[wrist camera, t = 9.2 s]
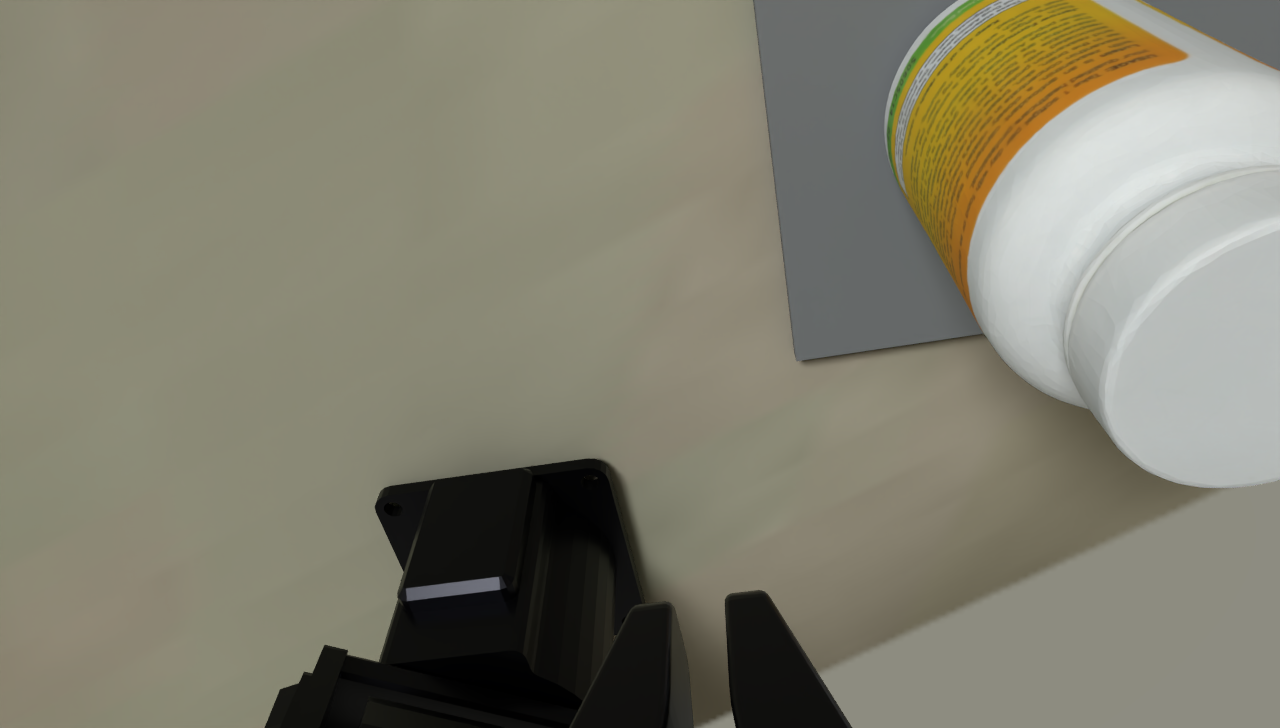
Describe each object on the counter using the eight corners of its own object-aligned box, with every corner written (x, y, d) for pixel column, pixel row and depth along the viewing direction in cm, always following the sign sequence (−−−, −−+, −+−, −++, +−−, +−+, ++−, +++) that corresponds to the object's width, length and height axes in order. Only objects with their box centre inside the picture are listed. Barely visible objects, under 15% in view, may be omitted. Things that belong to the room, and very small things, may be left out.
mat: (1356, 268, 21) (1367, 276, 21) (794, 352, 23) (796, 361, 23) (1508, -309, 15) (1526, -309, 15) (736, -144, 17) (737, -142, 17)
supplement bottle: (852, 213, 20) (983, 516, 12) (918, -51, 17) (1148, 119, 9) (1089, 237, 21) (1371, 549, 13) (1195, -18, 18) (1653, 176, 10)
